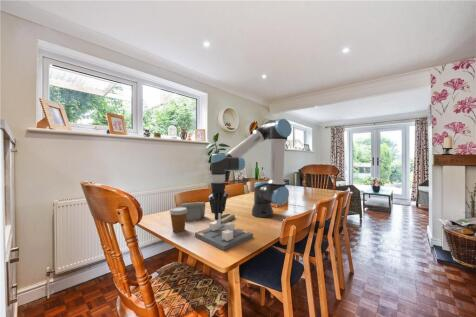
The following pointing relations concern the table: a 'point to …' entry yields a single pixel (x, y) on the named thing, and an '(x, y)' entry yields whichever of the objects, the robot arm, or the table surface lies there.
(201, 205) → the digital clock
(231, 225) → the tab
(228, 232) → the tab
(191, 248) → the table surface
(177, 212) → the disposable coffee cup
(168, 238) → the table surface
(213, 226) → the tab
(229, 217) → the olive shallow tray
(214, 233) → the switch bank
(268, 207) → the robot arm
